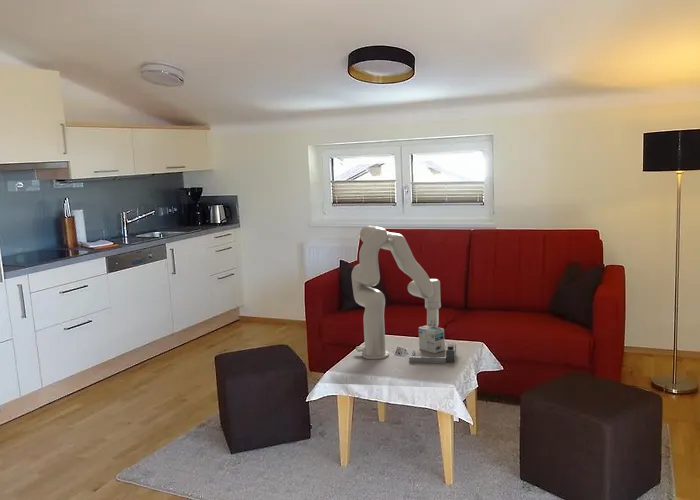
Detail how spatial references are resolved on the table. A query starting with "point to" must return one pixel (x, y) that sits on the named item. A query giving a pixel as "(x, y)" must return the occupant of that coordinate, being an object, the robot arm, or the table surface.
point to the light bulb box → (431, 339)
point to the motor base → (448, 357)
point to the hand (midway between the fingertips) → (434, 341)
